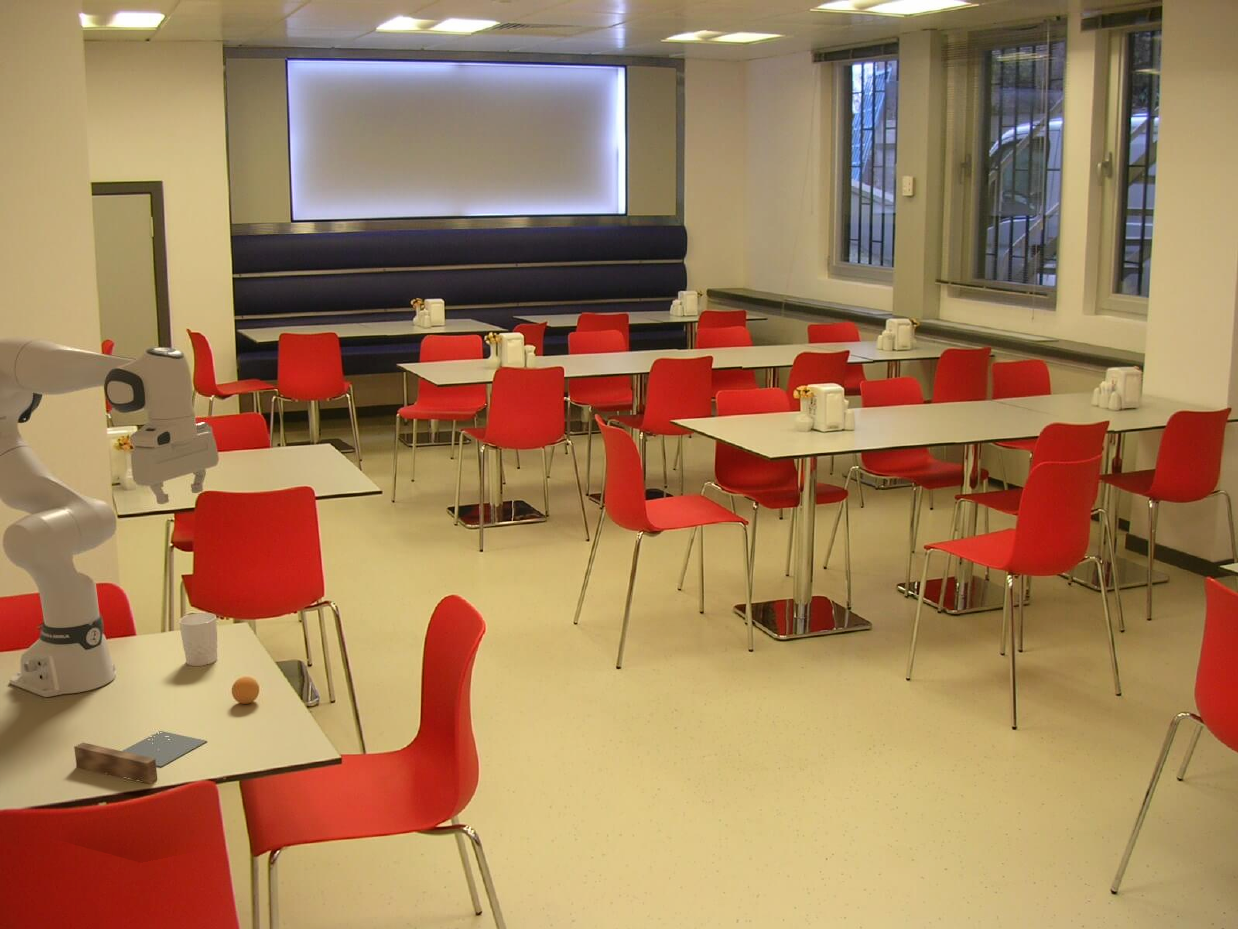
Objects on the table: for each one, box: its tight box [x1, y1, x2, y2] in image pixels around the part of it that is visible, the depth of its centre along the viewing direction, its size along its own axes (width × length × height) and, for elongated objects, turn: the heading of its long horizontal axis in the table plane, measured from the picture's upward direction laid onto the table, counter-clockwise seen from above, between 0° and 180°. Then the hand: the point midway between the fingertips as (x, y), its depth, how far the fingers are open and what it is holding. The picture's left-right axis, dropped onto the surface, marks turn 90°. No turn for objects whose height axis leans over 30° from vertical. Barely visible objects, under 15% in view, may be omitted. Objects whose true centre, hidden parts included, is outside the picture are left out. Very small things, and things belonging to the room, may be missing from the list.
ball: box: [231, 676, 260, 705], centre depth 273 cm, size 6×6×6 cm
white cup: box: [178, 612, 218, 667], centre depth 296 cm, size 8×8×10 cm
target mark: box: [122, 730, 208, 768], centre depth 252 cm, size 12×12×1 cm
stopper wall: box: [73, 742, 158, 785], centre depth 242 cm, size 18×2×4 cm, turn 64°
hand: (180, 497), depth 265 cm, fingers open, 8 cm apart
